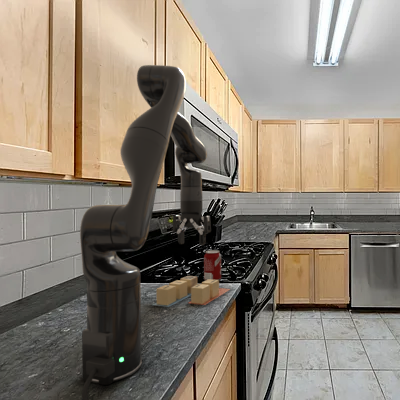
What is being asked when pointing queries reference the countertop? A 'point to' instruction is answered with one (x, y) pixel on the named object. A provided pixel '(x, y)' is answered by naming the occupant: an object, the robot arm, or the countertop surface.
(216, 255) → the soda can
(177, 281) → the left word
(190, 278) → the small cardboard box
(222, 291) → the wooden blocks on tray
